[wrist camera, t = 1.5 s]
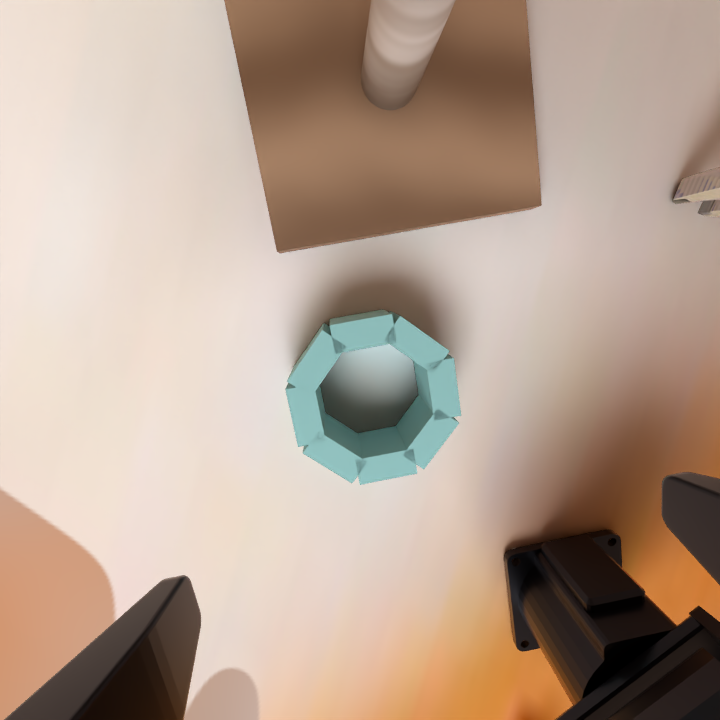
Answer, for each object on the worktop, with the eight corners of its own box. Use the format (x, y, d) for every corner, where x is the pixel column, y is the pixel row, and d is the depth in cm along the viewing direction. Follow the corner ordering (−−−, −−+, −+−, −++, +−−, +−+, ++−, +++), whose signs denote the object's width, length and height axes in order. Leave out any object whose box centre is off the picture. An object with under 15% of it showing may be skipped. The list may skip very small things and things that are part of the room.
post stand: (530, 209, 19) (675, 155, 11) (279, 253, 18) (240, 229, 10) (505, -93, 16) (668, -446, 8) (216, -51, 16) (103, -382, 8)
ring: (448, 438, 20) (467, 463, 18) (312, 464, 20) (308, 494, 17) (429, 301, 19) (446, 304, 16) (282, 327, 19) (273, 335, 16)
